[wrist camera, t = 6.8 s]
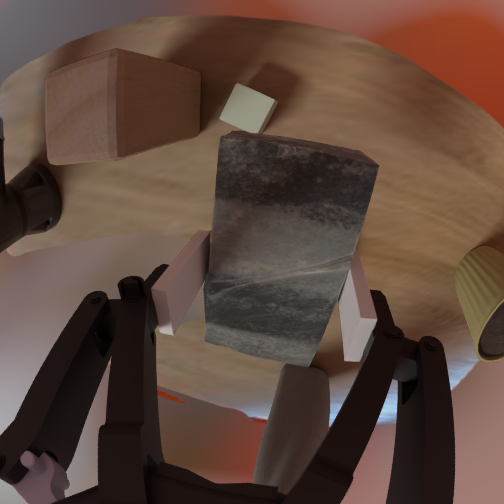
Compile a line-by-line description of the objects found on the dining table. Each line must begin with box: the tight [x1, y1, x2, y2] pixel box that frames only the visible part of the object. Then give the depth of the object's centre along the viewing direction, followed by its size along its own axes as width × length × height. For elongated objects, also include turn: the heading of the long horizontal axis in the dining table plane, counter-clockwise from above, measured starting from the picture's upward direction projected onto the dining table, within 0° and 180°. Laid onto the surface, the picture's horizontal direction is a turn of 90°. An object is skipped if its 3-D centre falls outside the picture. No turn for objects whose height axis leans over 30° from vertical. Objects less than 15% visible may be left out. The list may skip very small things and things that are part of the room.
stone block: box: [203, 131, 379, 367], centre depth 17 cm, size 9×14×5 cm, turn 172°
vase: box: [253, 364, 330, 494], centre depth 42 cm, size 12×12×30 cm
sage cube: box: [219, 83, 278, 134], centre depth 32 cm, size 5×5×5 cm
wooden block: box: [45, 48, 201, 165], centre depth 27 cm, size 10×10×20 cm
